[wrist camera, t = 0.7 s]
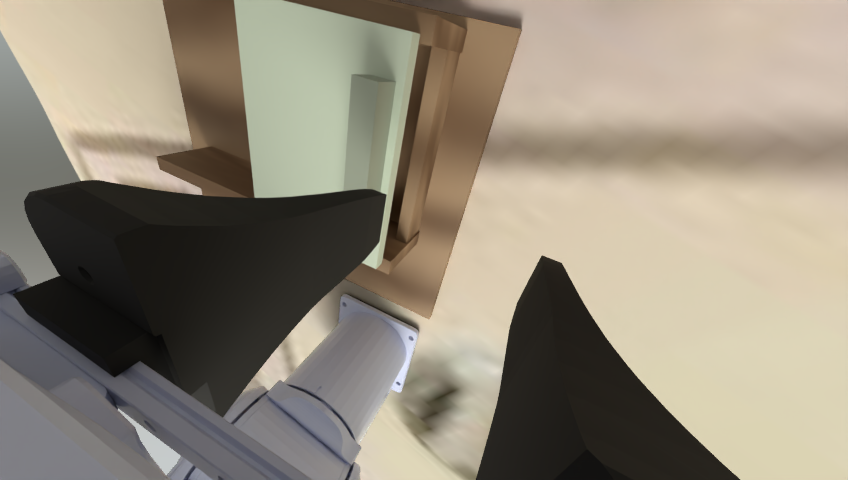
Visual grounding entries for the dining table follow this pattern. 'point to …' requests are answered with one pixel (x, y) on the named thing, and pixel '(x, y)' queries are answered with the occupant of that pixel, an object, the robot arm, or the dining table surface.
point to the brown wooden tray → (422, 140)
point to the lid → (323, 101)
